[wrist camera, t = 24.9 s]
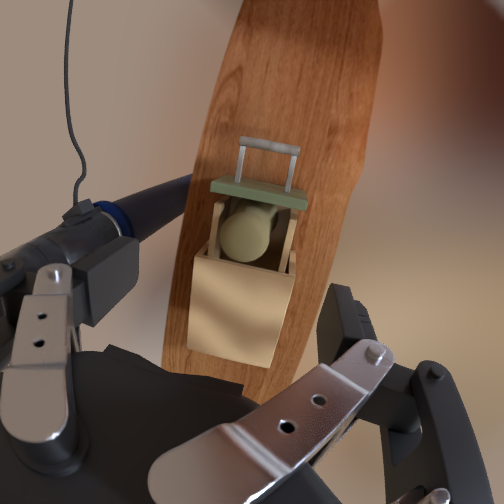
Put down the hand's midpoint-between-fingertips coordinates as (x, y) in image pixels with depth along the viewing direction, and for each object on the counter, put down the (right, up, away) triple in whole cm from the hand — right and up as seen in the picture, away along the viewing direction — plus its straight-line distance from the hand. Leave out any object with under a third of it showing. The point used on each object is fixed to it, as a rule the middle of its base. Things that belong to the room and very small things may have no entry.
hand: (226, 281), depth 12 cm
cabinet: (0, -4, +34) cm, 34 cm away
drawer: (+2, +7, +29) cm, 29 cm away
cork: (+2, +6, +28) cm, 29 cm away
